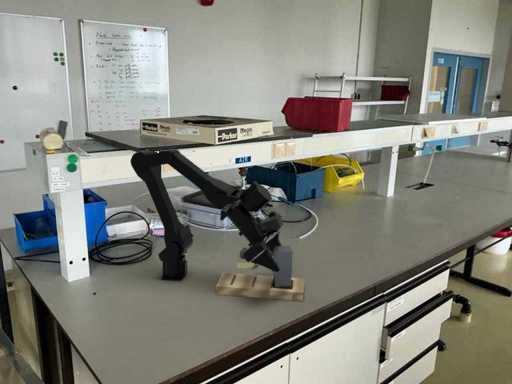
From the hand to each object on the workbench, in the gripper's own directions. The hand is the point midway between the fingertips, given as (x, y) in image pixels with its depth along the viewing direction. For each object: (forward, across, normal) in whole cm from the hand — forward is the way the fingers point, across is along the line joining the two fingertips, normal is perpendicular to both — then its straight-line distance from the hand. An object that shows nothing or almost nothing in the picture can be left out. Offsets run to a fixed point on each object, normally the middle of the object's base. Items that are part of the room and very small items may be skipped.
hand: (282, 264), depth 118 cm
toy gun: (-1, +19, +14) cm, 23 cm away
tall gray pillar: (+6, 0, +6) cm, 8 cm away
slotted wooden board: (+2, -1, +10) cm, 10 cm away
